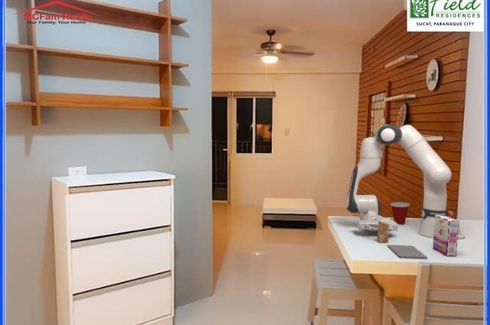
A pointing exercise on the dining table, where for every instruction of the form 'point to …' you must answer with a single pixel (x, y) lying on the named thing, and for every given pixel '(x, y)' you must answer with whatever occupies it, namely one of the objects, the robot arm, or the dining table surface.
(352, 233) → the dining table surface
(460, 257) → the dining table surface
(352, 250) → the dining table surface
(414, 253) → the slate mat
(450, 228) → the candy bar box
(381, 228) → the oak block
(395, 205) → the plastic cup
